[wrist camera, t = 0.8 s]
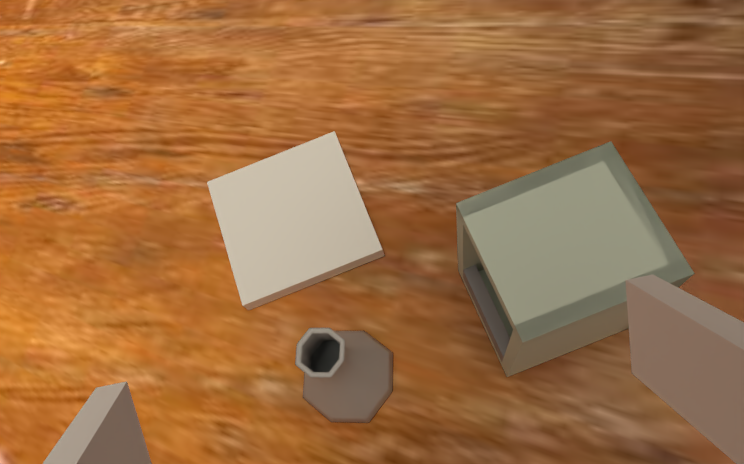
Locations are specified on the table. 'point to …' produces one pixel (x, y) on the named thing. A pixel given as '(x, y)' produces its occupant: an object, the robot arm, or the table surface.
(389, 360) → the flask
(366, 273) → the table surface
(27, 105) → the table surface
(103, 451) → the robot arm
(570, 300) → the dispenser box
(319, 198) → the plate
